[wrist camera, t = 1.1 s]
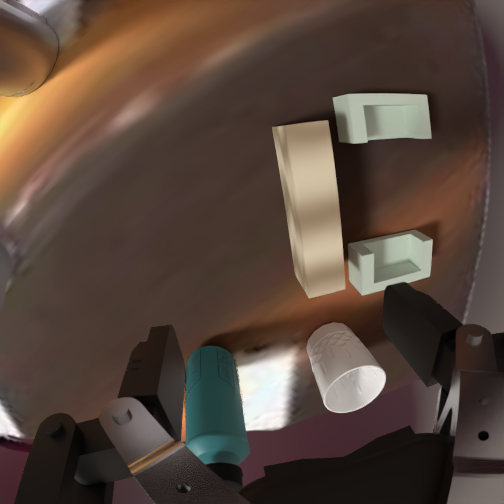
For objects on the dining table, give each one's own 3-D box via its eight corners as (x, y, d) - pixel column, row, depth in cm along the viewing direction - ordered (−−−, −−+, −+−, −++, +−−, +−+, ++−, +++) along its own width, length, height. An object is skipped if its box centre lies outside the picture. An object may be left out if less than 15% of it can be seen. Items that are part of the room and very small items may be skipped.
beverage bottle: (178, 345, 39) (168, 482, 20) (226, 330, 39) (243, 469, 20) (198, 378, 41) (201, 507, 23) (243, 365, 41) (266, 495, 23)
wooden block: (271, 127, 31) (284, 125, 25) (308, 122, 31) (328, 120, 26) (294, 273, 37) (309, 298, 32) (326, 266, 38) (345, 289, 32)
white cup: (354, 311, 40) (388, 356, 31) (355, 354, 43) (383, 400, 34) (299, 327, 40) (322, 378, 31) (304, 369, 43) (325, 420, 34)
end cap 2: (413, 264, 39) (429, 276, 35) (349, 280, 38) (362, 295, 35) (415, 229, 37) (432, 239, 33) (347, 243, 37) (362, 256, 33)
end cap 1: (332, 97, 30) (347, 94, 26) (407, 96, 31) (426, 94, 27) (339, 142, 32) (354, 143, 28) (411, 136, 33) (431, 138, 29)
